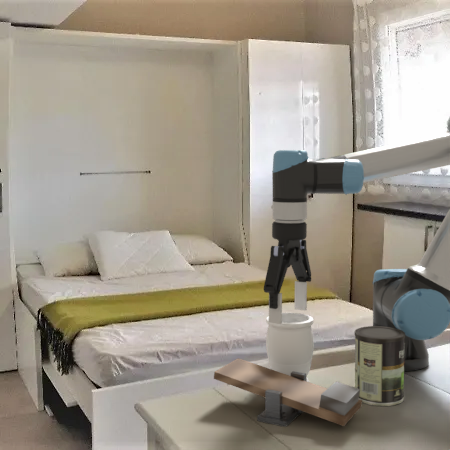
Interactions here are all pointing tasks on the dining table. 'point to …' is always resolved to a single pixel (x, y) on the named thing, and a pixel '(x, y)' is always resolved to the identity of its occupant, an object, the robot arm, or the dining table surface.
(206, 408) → the dining table surface
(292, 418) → the pivot stand
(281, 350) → the jar
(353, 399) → the beam
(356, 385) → the coffee can
